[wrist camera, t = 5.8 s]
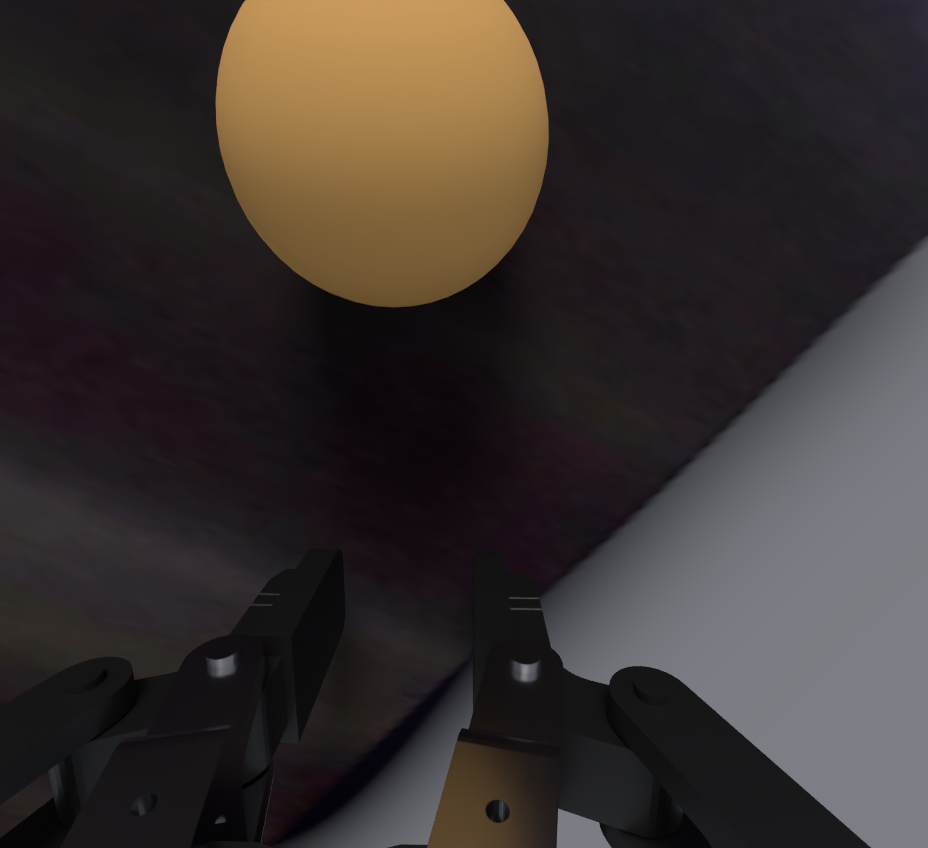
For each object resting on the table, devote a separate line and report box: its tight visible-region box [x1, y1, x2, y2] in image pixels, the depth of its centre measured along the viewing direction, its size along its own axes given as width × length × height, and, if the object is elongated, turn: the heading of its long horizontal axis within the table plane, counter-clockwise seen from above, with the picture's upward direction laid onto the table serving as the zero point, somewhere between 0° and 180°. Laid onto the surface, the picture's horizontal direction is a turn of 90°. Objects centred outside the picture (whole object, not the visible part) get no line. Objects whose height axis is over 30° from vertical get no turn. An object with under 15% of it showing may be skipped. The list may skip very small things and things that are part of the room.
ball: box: [216, 0, 549, 307], centre depth 9 cm, size 6×6×6 cm
